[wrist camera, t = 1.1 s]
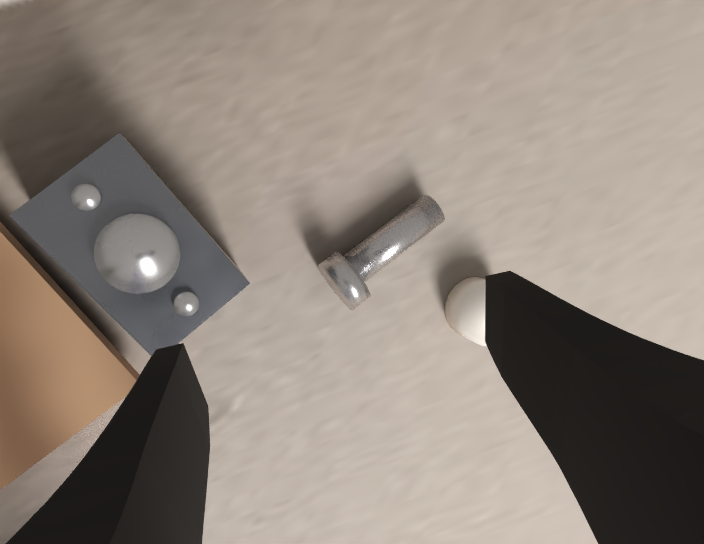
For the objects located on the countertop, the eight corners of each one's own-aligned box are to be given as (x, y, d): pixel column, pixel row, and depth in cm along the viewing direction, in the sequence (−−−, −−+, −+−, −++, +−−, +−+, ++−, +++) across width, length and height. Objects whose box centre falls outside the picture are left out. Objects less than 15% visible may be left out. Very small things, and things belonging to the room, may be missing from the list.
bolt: (342, 303, 26) (359, 316, 24) (312, 260, 25) (327, 269, 23) (438, 228, 27) (464, 233, 25) (413, 185, 26) (437, 186, 24)
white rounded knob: (462, 346, 29) (482, 358, 27) (433, 301, 28) (452, 310, 26) (506, 310, 30) (528, 319, 28) (479, 264, 29) (501, 271, 27)
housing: (158, 331, 24) (156, 366, 20) (36, 208, 22) (3, 216, 17) (237, 266, 25) (252, 286, 20) (127, 139, 22) (117, 131, 18)
